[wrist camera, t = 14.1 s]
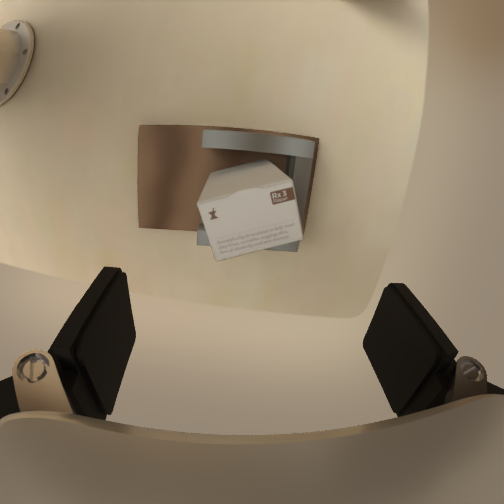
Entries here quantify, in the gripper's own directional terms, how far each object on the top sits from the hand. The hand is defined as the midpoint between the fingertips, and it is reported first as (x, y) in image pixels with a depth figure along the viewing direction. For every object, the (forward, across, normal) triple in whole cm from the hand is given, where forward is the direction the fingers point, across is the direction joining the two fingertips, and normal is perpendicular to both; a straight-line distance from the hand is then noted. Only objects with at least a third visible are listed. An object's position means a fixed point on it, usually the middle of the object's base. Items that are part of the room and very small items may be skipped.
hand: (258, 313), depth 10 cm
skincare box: (+21, 0, 0) cm, 21 cm away
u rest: (+22, +2, 0) cm, 22 cm away
